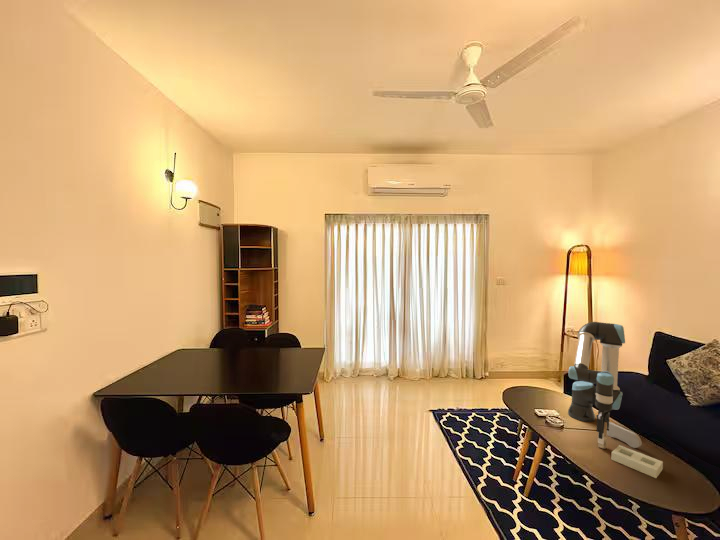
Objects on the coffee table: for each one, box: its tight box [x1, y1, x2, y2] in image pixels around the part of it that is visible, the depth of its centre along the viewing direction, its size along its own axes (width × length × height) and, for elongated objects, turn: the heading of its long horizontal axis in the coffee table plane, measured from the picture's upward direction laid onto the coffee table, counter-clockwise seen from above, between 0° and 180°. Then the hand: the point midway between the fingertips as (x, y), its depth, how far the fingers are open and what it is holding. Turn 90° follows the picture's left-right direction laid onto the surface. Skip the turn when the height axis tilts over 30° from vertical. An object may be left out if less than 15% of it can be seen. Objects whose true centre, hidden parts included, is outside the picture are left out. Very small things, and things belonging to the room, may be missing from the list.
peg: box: [597, 422, 608, 449], centre depth 184 cm, size 4×4×14 cm
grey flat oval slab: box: [607, 421, 642, 449], centre depth 191 cm, size 20×2×8 cm, turn 20°
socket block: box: [610, 444, 664, 479], centre depth 169 cm, size 12×18×4 cm, turn 36°
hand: (602, 442), depth 184 cm, fingers closed on peg, 3 cm apart
